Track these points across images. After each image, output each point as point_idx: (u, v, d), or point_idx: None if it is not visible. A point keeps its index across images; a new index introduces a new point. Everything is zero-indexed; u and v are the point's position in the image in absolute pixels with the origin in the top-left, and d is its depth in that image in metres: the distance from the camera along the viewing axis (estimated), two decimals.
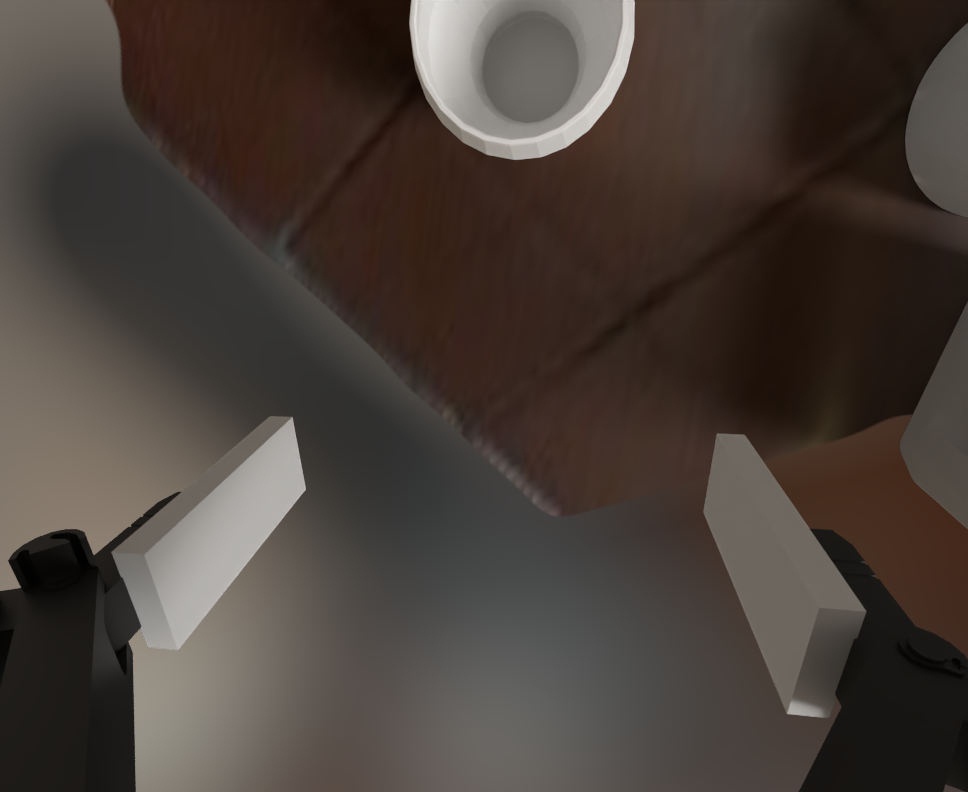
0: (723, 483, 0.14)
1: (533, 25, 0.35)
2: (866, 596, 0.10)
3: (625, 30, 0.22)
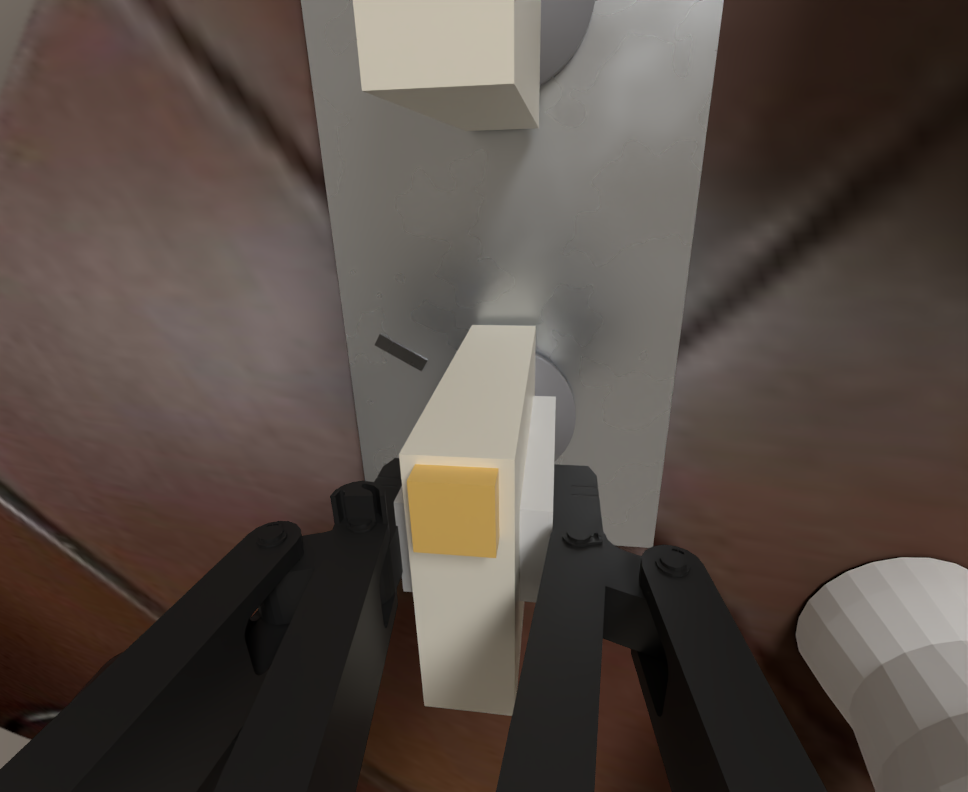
0: None
1: None
2: (580, 508, 0.13)
3: None
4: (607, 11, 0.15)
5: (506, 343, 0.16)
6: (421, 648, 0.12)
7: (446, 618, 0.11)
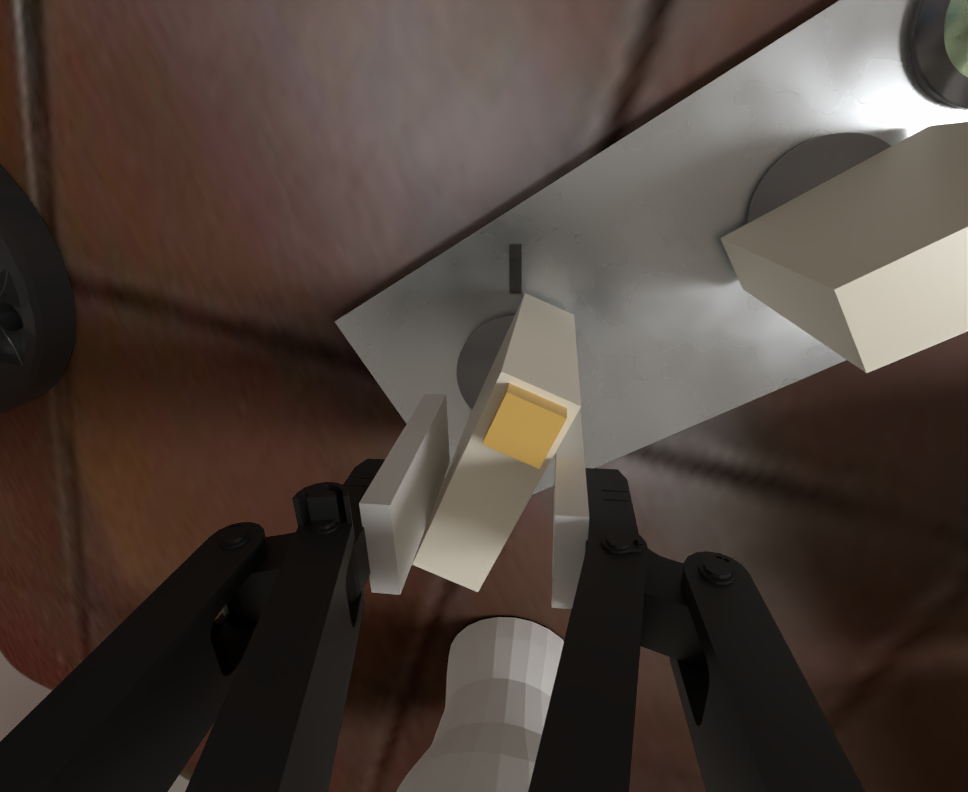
0: None
1: None
2: (614, 513, 0.13)
3: None
4: None
5: (555, 319, 0.19)
6: (435, 519, 0.15)
7: (468, 503, 0.15)
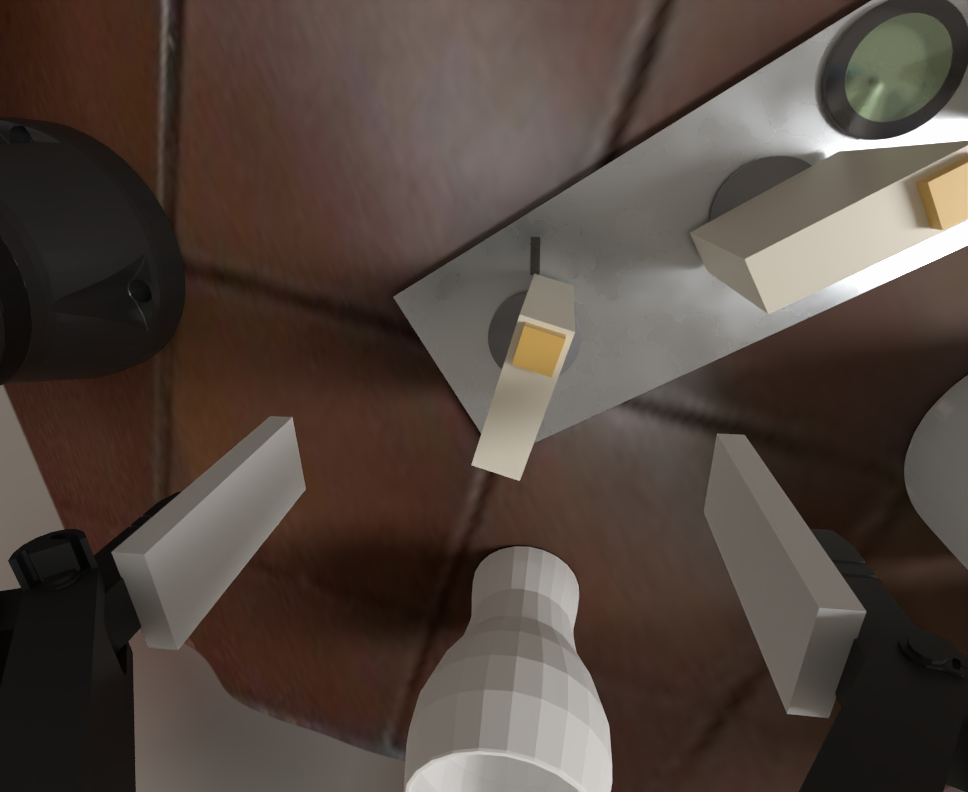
0: (723, 483, 0.14)
1: None
2: (866, 596, 0.10)
3: None
4: None
5: (558, 288, 0.26)
6: (484, 428, 0.22)
7: (506, 412, 0.21)
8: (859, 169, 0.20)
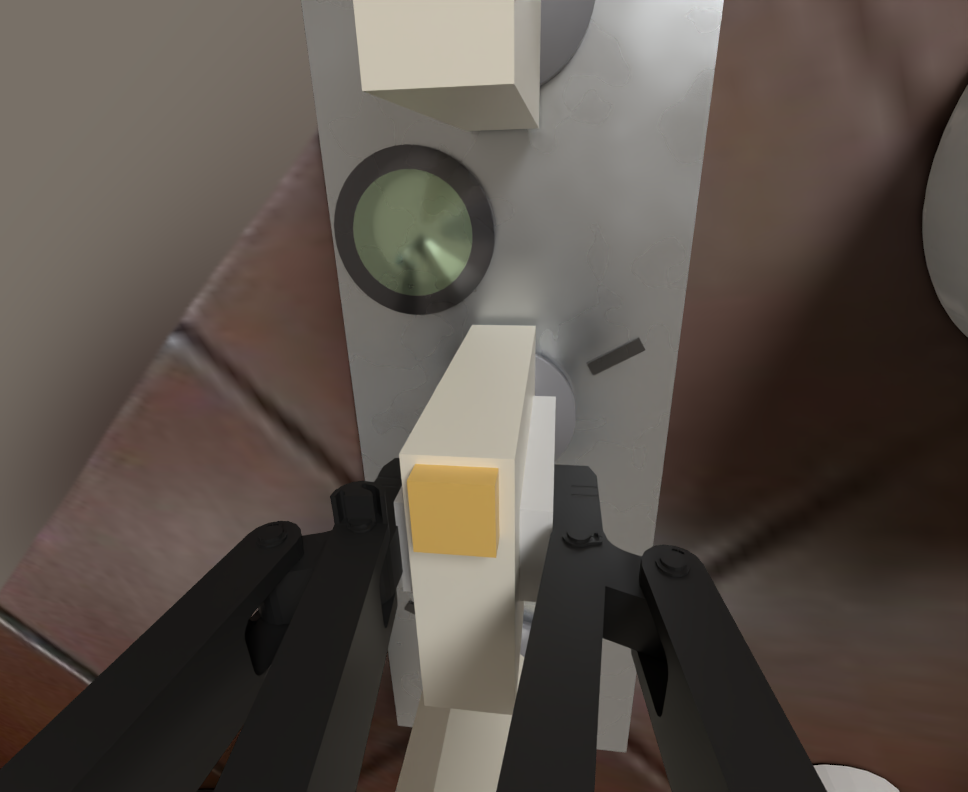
0: None
1: None
2: (580, 508, 0.13)
3: None
4: (583, 427, 0.20)
5: None
6: None
7: None
8: None
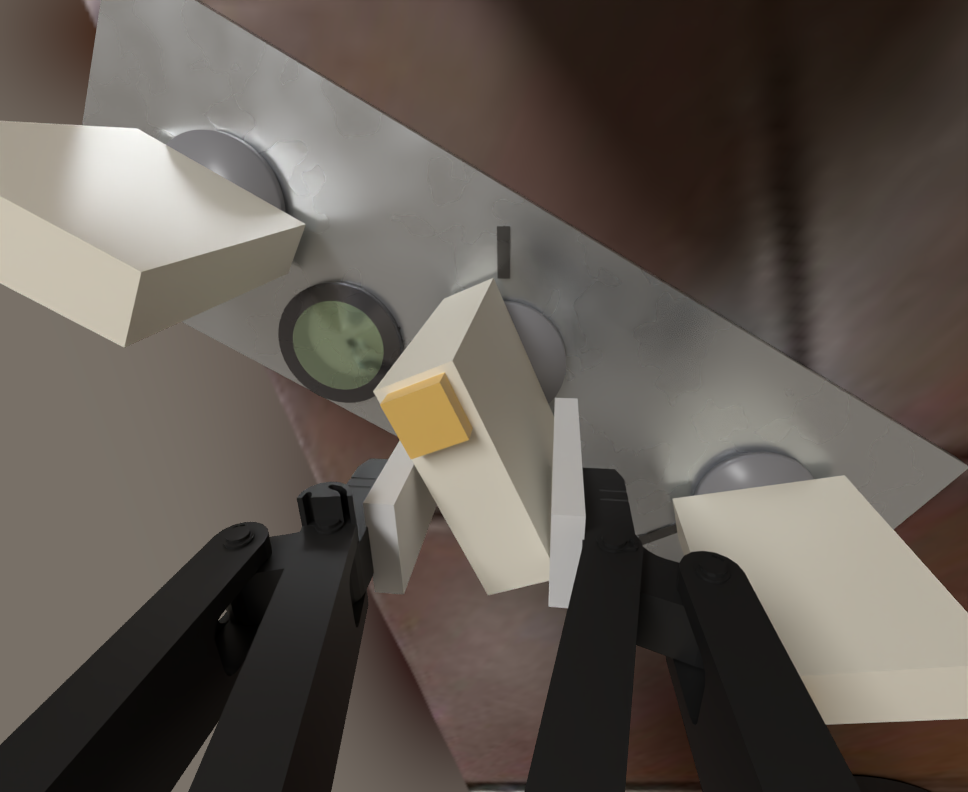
0: None
1: None
2: (610, 512, 0.13)
3: None
4: (553, 309, 0.21)
5: (684, 542, 0.22)
6: (924, 719, 0.15)
7: (886, 706, 0.15)
8: None
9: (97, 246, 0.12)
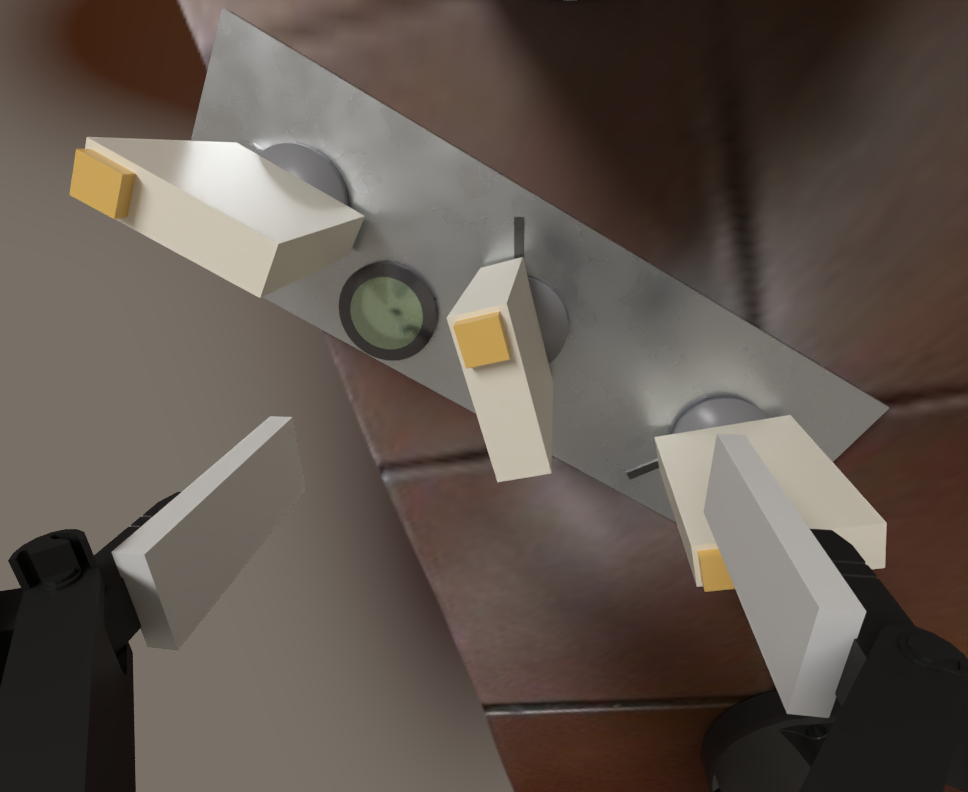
0: (723, 483, 0.14)
1: None
2: (866, 596, 0.10)
3: None
4: (557, 282, 0.27)
5: (662, 469, 0.28)
6: None
7: None
8: None
9: (249, 226, 0.18)
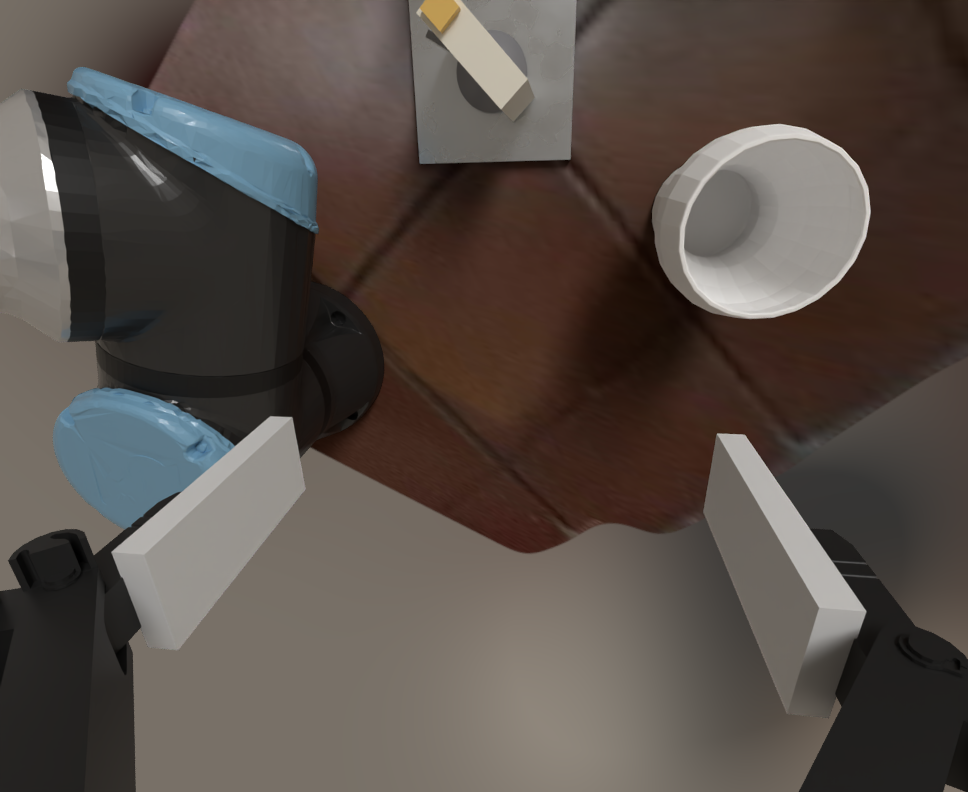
0: (723, 483, 0.14)
1: None
2: (866, 595, 0.10)
3: (799, 134, 0.26)
4: None
5: None
6: (478, 82, 0.31)
7: (474, 60, 0.30)
8: None
9: None
